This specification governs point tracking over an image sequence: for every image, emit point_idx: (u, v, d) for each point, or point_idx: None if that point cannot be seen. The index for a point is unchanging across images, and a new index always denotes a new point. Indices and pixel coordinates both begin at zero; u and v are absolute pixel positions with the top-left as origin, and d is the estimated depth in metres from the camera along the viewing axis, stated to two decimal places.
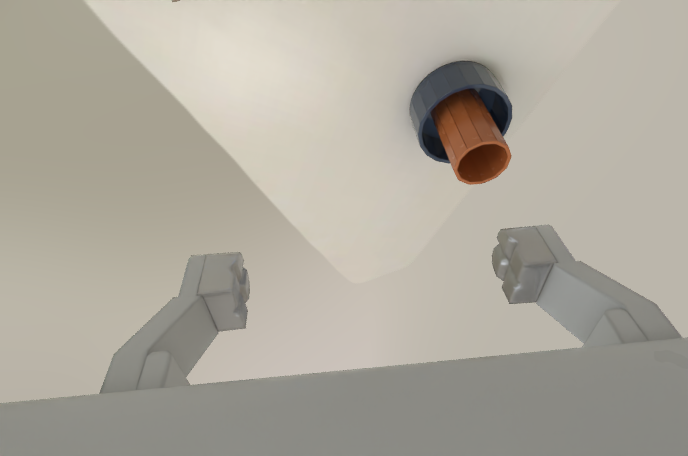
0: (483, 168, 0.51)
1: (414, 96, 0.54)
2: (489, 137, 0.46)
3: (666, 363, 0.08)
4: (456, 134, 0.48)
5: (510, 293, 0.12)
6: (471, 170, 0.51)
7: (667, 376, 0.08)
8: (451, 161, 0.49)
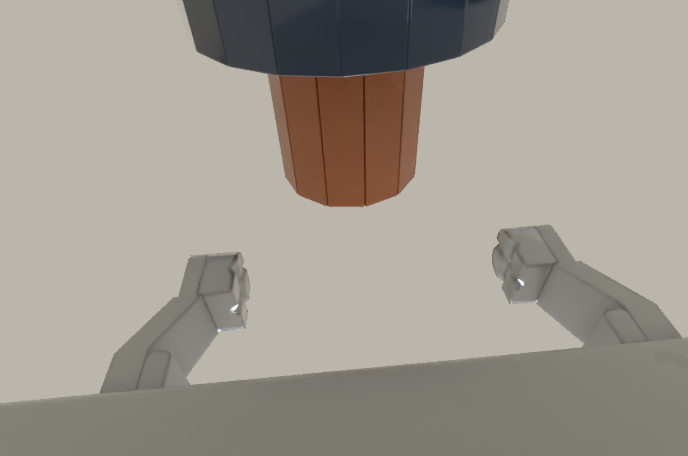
0: None
1: None
2: None
3: (666, 363, 0.08)
4: (415, 120, 0.18)
5: (510, 293, 0.12)
6: None
7: (667, 375, 0.08)
8: (372, 180, 0.18)
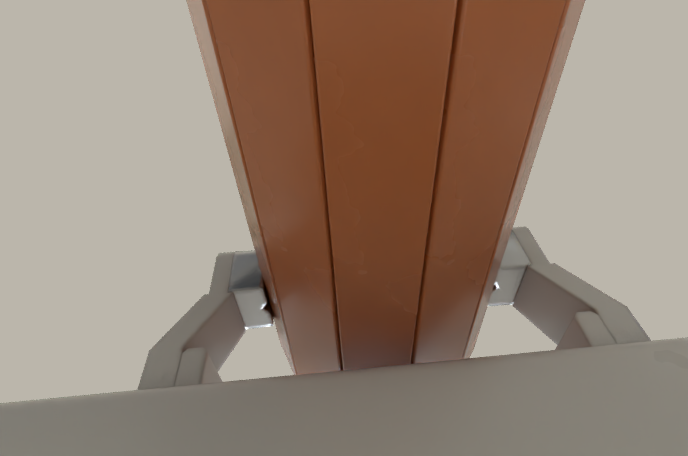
0: None
1: None
2: None
3: (666, 363, 0.08)
4: (488, 296, 0.11)
5: None
6: None
7: (667, 376, 0.08)
8: None
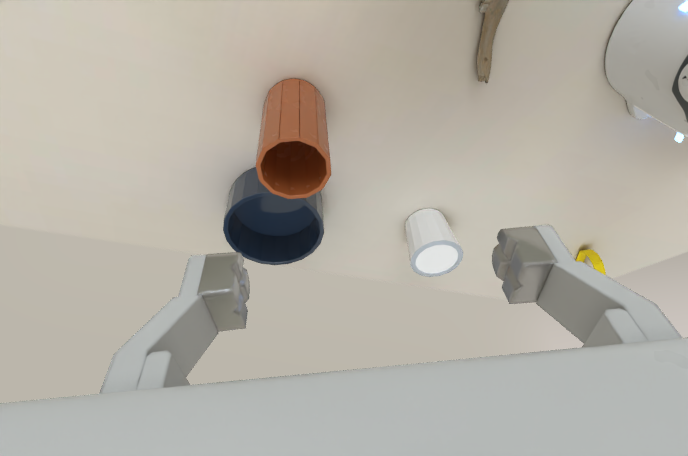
0: (269, 172, 0.38)
1: None
2: None
3: (666, 363, 0.08)
4: (312, 123, 0.37)
5: (510, 293, 0.12)
6: (263, 159, 0.37)
7: (667, 376, 0.08)
8: (283, 129, 0.35)
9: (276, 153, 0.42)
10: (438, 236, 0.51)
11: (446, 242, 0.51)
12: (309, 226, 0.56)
